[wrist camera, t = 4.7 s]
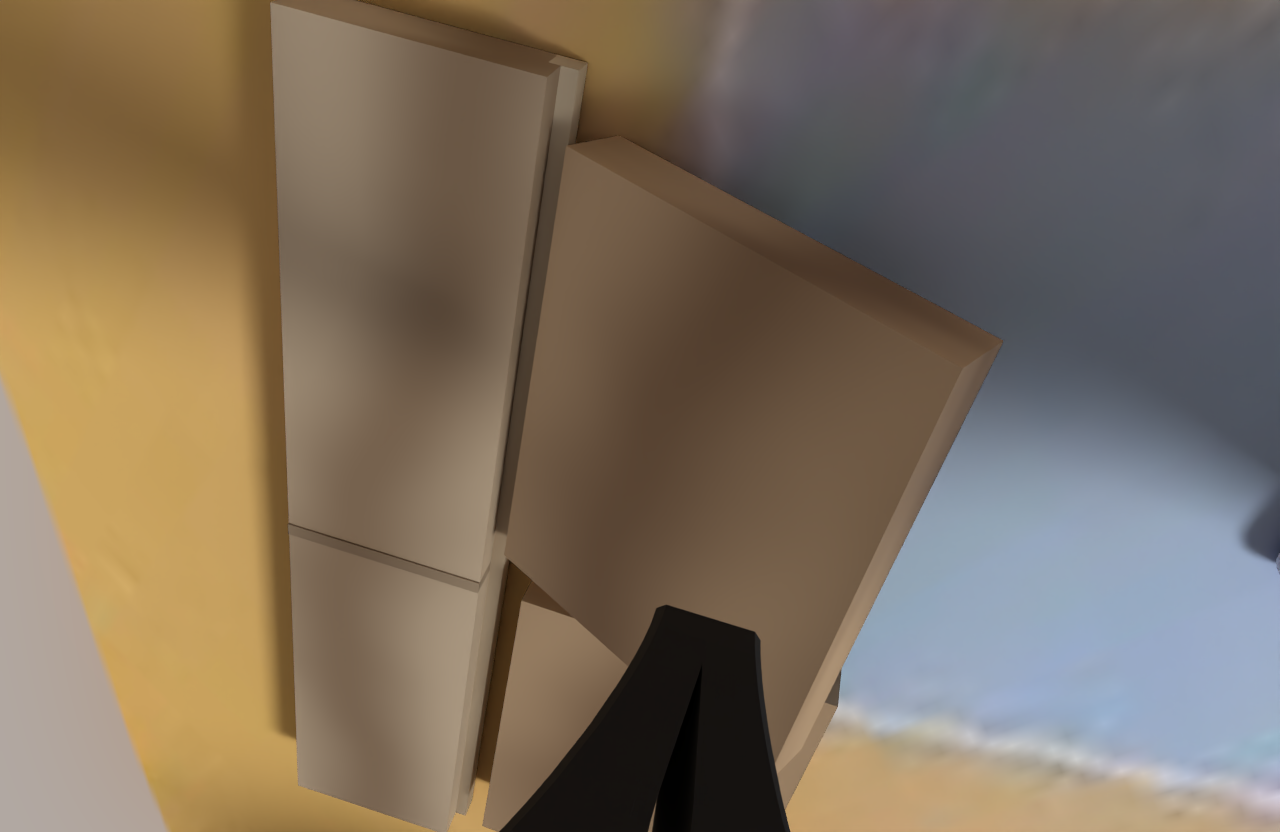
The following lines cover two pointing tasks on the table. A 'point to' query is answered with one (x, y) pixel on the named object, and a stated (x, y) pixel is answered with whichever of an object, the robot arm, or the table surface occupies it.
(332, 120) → the laid board
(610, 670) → the plank
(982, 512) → the table surface
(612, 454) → the plank
